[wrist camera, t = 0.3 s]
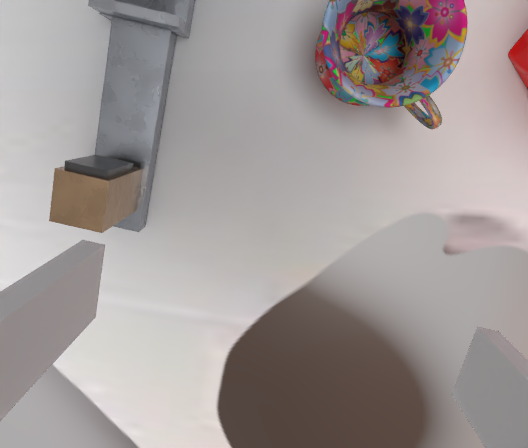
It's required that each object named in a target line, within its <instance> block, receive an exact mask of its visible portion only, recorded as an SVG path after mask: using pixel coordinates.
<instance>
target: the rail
mask: <svg viewBox="0 0 528 448" xmlns="http://www.w3.org/2000/svg"><path fill="white" fill-rule="evenodd" d="M194 4H195V0H89V5H88V6H90V7H92V8H93V9H95V10H97V11H98V12H100V14H101V15H103V16H104V17H106V18H108V19H110V20H112V25H111V33H110V41H109V48H108V56H107V64H106V72H105V79H104V87H103V95H102V103H101V110H100V118H99V126H98V134H97V142H96V149H95V155H93V156H88V157H83V158H78V159H73V160H68V161H65V166H64V167H60V168H55V173H54V182H53V191H52V201H51V210H50V219H49V221H52V222H56V223H61V224H65V225H70V226H74V227H78V228H83V229H87V230H92V231H96V232H100V233H103V232H104V231H106V230H107V229H109V228H110V227H112V226H114V227H119V228H123V229H128V230H132V231H136V232H139V231H140V230H142V229H143V228H144V227H145V224H146V218H147V212H148V206H149V200H150V193H151V187H152V181H153V175H154V169H155V163H156V157H157V151H158V145H159V139H160V133H161V127H162V120H163V114H164V108H165V102H166V96H167V90H168V84H169V78H170V72H171V66H172V60H173V53H174V47H175V41H176V35H177V36H182V37H186V38H189V33H190V27H191V21H192V16H193V10H194Z"/></svg>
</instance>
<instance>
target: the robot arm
mask: <svg viewBox="0 0 528 448" xmlns="http://www.w3.org/2000/svg"><path fill="white" fill-rule="evenodd" d="M104 249H105V245H103V244H99V243H94V242H90V241H85V240H82V241H80V242H79V243H77V244H76V245H74V246H72V247H71V248H69V249H68V250H66V251H65V252H63V253H61V254H60V255H58V256H57V257H55V258H53V259H52V260H50V261H49V262H47V263H45V264H44V265H42V266H41V267H39V268H37V269H36V270H34V271H33V272H31V273H30V274H28V275H26V276H25V277H23V278H22V279H20V280H18V281H17V282H15V283H14V284H12V285H10V286H9V287H7V288H6V289H4V290H3V291H1V292H0V421H1V420H2V419H3V417H5V415H6V414H7V413H8V412H9V411H10V410H11V409H12V408H13V407H14V406H15V404H16V403H17V402H18V401H19V400H20V399H21V398H22V397H23V396H24V395H25V393H26V392H27V391H28V390H29V389H30V388H31V387H32V386H33V385H34V384H35V382H36V381H37V380H38V379H39V378H40V377H41V376H42V375H43V374H44V373H45V372H46V371H47V369H48V368H49V367H50V366H51V365H52V364H53V363H54V362H55V361H56V360H57V359H58V357H59V356H60V355H61V354H62V353H63V352H64V351H65V350H66V349H67V348H68V347H69V345H70V344H71V343H72V342H73V341H74V340H75V339H76V338H77V337H78V336H79V334H80V333H81V332H82V331H83V330H84V329H85V328H86V327H87V326H88V325H89V324H90V322H91V321H92V320H93V319H94V318H95V316H96V309H97V301H98V294H99V286H100V279H101V271H102V264H103V256H104ZM452 396H453V397H454V399H455V400H456V402H457V403H458V405H459V407H460V408H461V410H462V412H463V413H464V415H465V416H466V418H467V420H468V421H469V423H470V424H471V426H472V428H473V429H474V431H475V432H476V434H477V435H478V437H479V439H480V440H481V442H482V443H483V445H484V446H485V448H528V359H526V358H525V357H524V356H523V355H522V354H521V353H520V352H519V351H518V350H517V349H516V348H515V347H514V346H513V345H512V344H511V343H510V342H509V341H508V340H507V339H506V338H505V337H504V336H503V335H502V334H501V333H500V332H499V331H495V330H490V329H485V328H481V327H477V329H476V332H475V334H474V337H473V339H472V342H471V345H470V348H469V350H468V353H467V355H466V358H465V360H464V363H463V365H462V368H461V371H460V373H459V376H458V379H457V381H456V384H455V386H454V389H453V392H452Z"/></svg>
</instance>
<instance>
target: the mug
mask: <svg viewBox="0 0 528 448" xmlns="http://www.w3.org/2000/svg"><path fill="white" fill-rule="evenodd" d="M466 34H467V13H466V7H465V3H464V0H330V1H329V3H328V6H327V9H326V12H325V15H324V19H323V26H322V31H321V33H320V36H319V38H318V42H317V46H316V66H317V71H318V74H319V76H320V79H321V81H322V83H323V84H324V86H325V87H326V88H327V90H328V91H329V92H330V93H331V94H332V95H334V96H335V97H336V98H338V99H339V100H341V101H343V102H346V103H349V104H352V105H361V106H364V105H373V106H378V107H399V106H405V108H406V109H407V110H408V111H409V112H410V113H411V114H412V115H413V116H414V117H415V118H416V119H417V120H418V121H419V122H421V123H422V124H423V125H424V126H426V127H427V128H430V129H435V128H437V127H439V126H440V125H441V123H442V117H441V114H440V112H439V110H438V108H437V106H436V104H435V103H434V101H433V100H432V98H431V97H430V96H429V95H430V94H431V93H432V92H434V91H435V90H436V89H437V88H439V87H440V86H441V85H442V84H443V83H444V82H445V81H446V79H447V78H448V77H449V76H450V74H451V73H452V71H453V70H454V68H455V67H456V65H457V63H458V61H459V59H460V57H461V54H462V51H463V48H464V45H465V40H466ZM417 101H420V103H421V104H422V105H423V107H424V108H425V110H426V111H427V113H428V115H429V116H428V115H427V114H425V113H424V112H423V111H422V110H421V109H420V108H419V107H418V106H417V105H416V104H415V103H414V102H417Z"/></svg>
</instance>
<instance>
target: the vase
mask: <svg viewBox="0 0 528 448" xmlns="http://www.w3.org/2000/svg"><path fill="white" fill-rule="evenodd" d="M508 56H509V59H510V60H511V62H512V64H513V65H514V67H515V69H516V70H517V72H518V74H519V75H520V77H521V79H522V80H523V82H524V84H525V85H526V87H527V89H528V29H527V31H526V32H525V33H524V34H523V35H522V37H521V38H520V39H519V40H518V42H517V43H516V44H515V45H514V46H513V48H512V49H511V50H510V51H509V53H508Z"/></svg>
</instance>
